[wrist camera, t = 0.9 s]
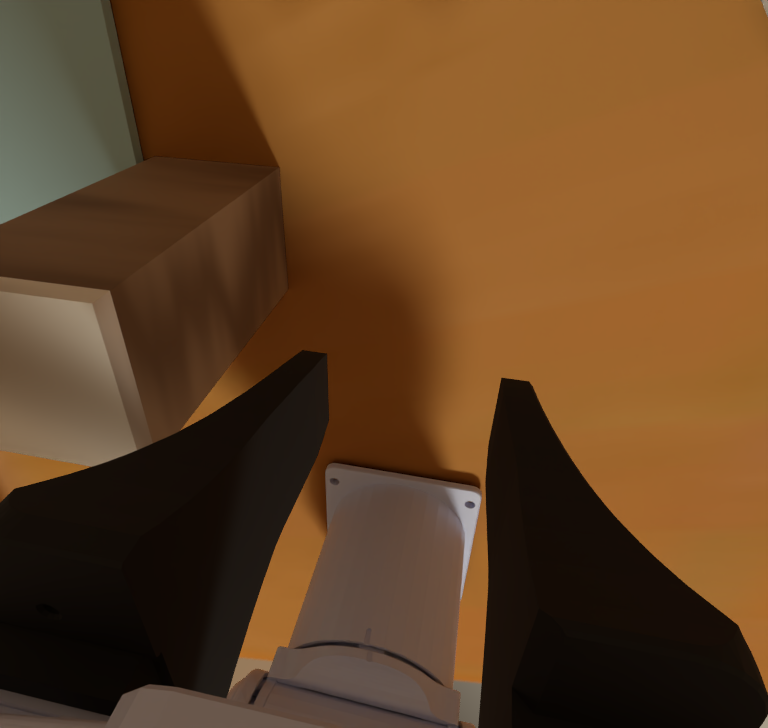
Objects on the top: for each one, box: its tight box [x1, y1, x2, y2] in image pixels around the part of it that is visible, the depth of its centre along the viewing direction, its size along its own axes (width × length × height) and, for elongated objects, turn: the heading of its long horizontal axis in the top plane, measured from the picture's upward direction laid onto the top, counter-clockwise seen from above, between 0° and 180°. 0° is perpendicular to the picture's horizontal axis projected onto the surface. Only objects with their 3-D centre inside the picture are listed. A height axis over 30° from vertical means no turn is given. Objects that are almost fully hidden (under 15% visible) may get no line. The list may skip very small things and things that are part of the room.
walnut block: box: [0, 156, 288, 467], centre depth 17 cm, size 5×5×11 cm
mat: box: [0, 0, 143, 224], centre depth 22 cm, size 16×11×1 cm
